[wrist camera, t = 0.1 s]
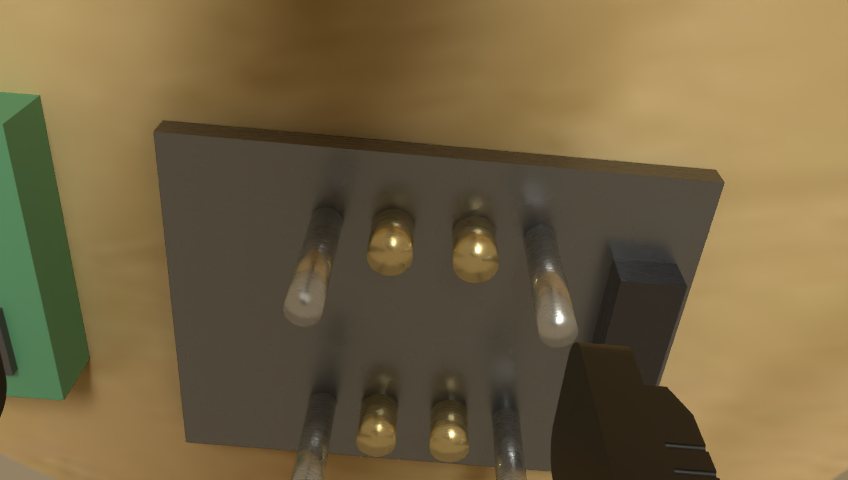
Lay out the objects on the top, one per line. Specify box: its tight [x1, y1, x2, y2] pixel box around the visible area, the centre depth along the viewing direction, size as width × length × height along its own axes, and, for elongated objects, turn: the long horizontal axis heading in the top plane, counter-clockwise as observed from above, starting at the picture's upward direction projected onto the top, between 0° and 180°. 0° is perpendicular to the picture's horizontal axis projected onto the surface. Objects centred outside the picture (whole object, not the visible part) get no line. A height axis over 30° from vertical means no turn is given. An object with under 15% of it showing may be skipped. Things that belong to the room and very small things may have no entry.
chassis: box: [154, 121, 725, 480], centre depth 29 cm, size 15×20×6 cm
